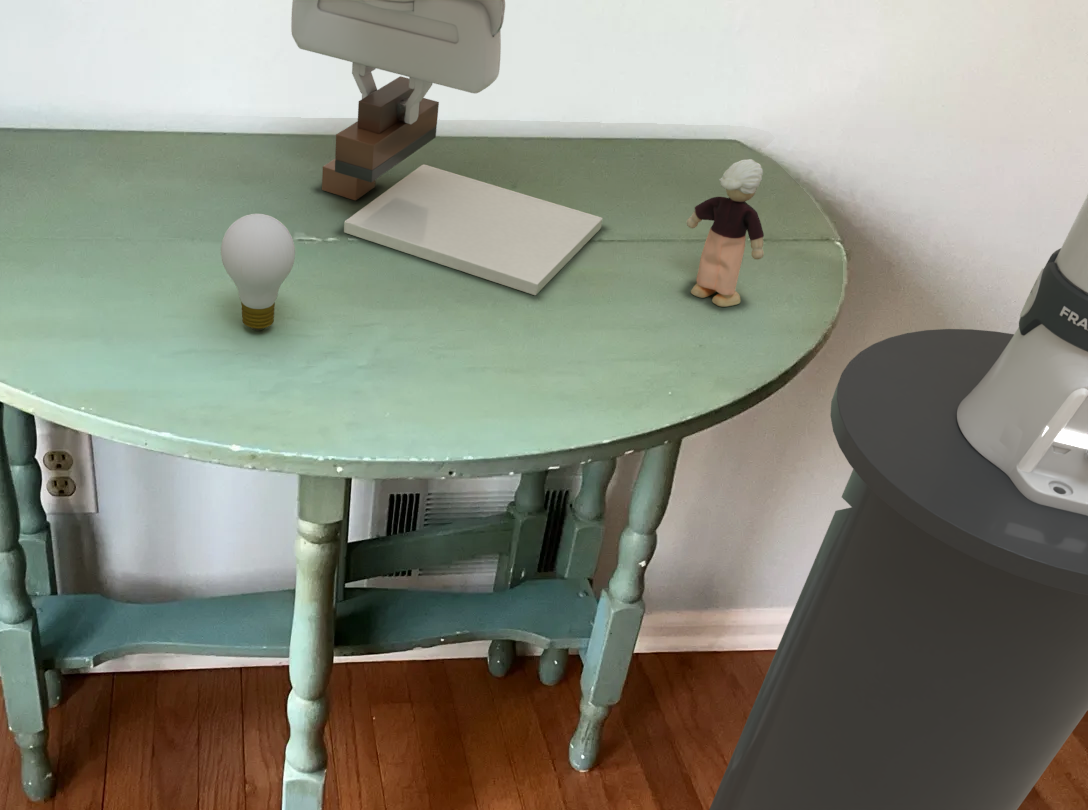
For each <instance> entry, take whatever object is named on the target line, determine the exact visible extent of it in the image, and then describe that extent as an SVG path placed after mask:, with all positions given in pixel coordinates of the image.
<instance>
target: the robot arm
mask: <svg viewBox="0 0 1088 810" xmlns="http://www.w3.org/2000/svg"><path fill="white" fill-rule="evenodd" d="M505 12H506V0H292V3H291V18H290V19H291V20H290V21H291V23H290V27H291V29H290V32H291V37H292V38H293V40H294V42H295V44H296V46H297V47H298V49H300V50H303V51H307V52H310V53H315V54H318V55H319V54H320V55H322V56H327V57H331V58H334V59H338V60H342V61H346V62H350V63H351V74H352V77H353V79H354V81H355V84H356V86H357V88H358V90H359V93H360V94H361V100H362V99H363V98H365V97H367V96H368V95H370V94H372V93H373V92H375V91H377V90H378V87H377V85H376V81H375V79H374V76H373V73H372V72H374V71H375V70H376V69H377V70H380V71H385V72H389V73H392V74H397V75H400V76H403V77H407V78H409V88H411V89H414V91H413V93H412V94H411V96H410V97H409V98H405V99H404V100H403V101H400V102H399V103H397V112H398V114H397V117H396V118H397V121H400V122H404V123H408V124H412V123H414V122H415V121H416V120H417V118H418V114H419V103H420V101H421V100H422V99H423V98H425V96H426V95H427V94H428V92H429V90H430V89H431V88H432V86H433V84H435V85H439V86H443V87H447V88H451V89H455V90H458V91H463V92H467V93H470V94H478V93H480V92H482V91H484V90H486V89H488V88H489V87H490V86H492V84H493V83H494V82H495V81H496V80H497V79H498V77H499V75H500V67H501V54H502V53H501V52H502V51H501V50H502V44H501V43H502V40H501V38H502V37H501V36H502V35H501V29H502V28H503V24H504V21H505V20H504V19H505ZM1013 334H1014V336H1013V337H1012V339H1011V340H1010V342H1009V343H1008V345H1007V346H1006V348H1005V349H1004V351H1003V352H1002V354H1001V355H1000V357H999V358H998V359H997V361H996V362H995V364H994V365H993V366H992V368H991V369H990V370H989V372H988V373H987V374H986V375H985V376H984V378H983V379H982V380H981V381H980V383H979V384H978V385H977V386H976V387H975V388H974V389H973V390H972V391H971V392H970V393H969V394H968V395H967V396H966V397H965V398H964V399H963V400H962V402H961V403H960V404H959V407H958V409H957V421H958V425H959V427H960V430H961V432H962V433H963V435H964V436H965V438H966V439H967V440H968V442H969V443H970V444H971V445H972V446H973V447H974V448H975V449H976V450H977V451H978V452H979V453H980V454H981V455H982V456H984V457H985V458H986V459H987V460H989V461H990V462H991V463H993V464H994V465H996V466H997V467H998V468H1000V469H1001V470H1002V471H1003V472H1005V473H1006V474H1007V475H1008V476H1009V478H1010V479H1011V481H1012V482H1013V483H1014V485H1015V486H1016V487H1017V489H1018V490H1019V491H1020V492H1021V493H1022V494H1023V495H1024V496H1025V497H1026V498H1027V499H1029V500H1031V501H1032V502H1035V503H1037V504H1041V505H1045V506H1049V507H1053V508H1057V509H1061V510H1066V511H1070V512H1074V513H1078V514H1082V515H1087V516H1088V194H1086V196H1085V199H1084V201H1083V203H1082V205H1081V207H1080V209H1079V211H1078V213H1077V215H1076V217H1075V219H1074V222H1073V223H1072V224H1071V228H1070V229H1069V232H1068V233H1067V236H1066V238H1065V239H1064V242H1063V243H1062V246H1061V248H1058V249H1056V250H1055V251H1054V252H1052V254H1051V255H1050V257H1049V258H1048V259H1047V262H1046V264H1045V265H1044V267H1043V268H1041V270H1040V271H1039V273H1038V276H1037V277H1036V280H1035V282H1034V283H1033V286H1032V287H1031V290H1030V292H1029V294H1028V296H1027V298H1026V299H1025V303H1024V305H1023V307H1022V309H1021V311H1020V314H1019V320H1018V328H1017V329H1016V331H1015V332H1014V333H1013Z"/></svg>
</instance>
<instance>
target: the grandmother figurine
mask: <svg viewBox="0 0 1088 810" xmlns="http://www.w3.org/2000/svg"><path fill="white" fill-rule="evenodd" d="M763 175H764V169H763V168H762V164H760V163H758V162H757V161H755V160H754V159H751V158H750V159H749V158H748V159H741V160H739V161H736V162H734V163H732V164H731V165H730V166H729V167H728V168H727V169H726V170H725V171H724V172H723V175H722V177H721V178H719V179H718V181H719V182H720V186H721V188H723V189H725V192H726V195H727V197H725V196H713V197H711V198H708V199H706V200H703V201H702V202H700V203H699V204H697V205H695V206H694V211H693V212H692V213H691V216H689V217H688V218H687V219H686V222H685V223H686V226H687V227H688V228H690V229H695V228H697V226H698V225H699V223H700V222H702V221H713V223H712V225H711V226H710V228H709V231H708V233H707V236H706V239H705V241H704V245H703V248H702V251H701V255H700V259H699V265H698V270H697V274H696V281H695V282H696V283H695V284H694V286H693V287H692V288H691V290H690V294H691V295H693V296H694V297H697V298H702V299H704V298H708V297H710V296H711V295H714V294H715V293H716V292H717V294H716V295H714V296H713V297H712V299H711V302H712V303H713V304H714V305H716V306H718V307H721V308H724V307H731V306H737V305H739V304H740V303H741V299H742V298H741V295H740V294H739V292H738V291H737V290H736V288H737V284H738V281H739V276H740V271H741V266H742V262H743V258H744V254H745V249H746V237H747V236H746V235H747V234H748V238H749V241H750V247H751V253H750V255H751V257H752V259H754V260H757V261H759V260H761V259H762V258H764V255H765V252H764V249H763V248H764V236H765V233H764V230H763V227H762V222H761V219H760V217H759V213H758V212H757V211H756V209H755V208H754V207H752V205H750V204H749V203H747V201H749V200H751V199H752V198H754V196H755V194H756V192H757V190H758V188H759V186H760V184H761V182H762V181H763V178H762V177H763Z"/></svg>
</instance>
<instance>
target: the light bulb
mask: <svg viewBox="0 0 1088 810" xmlns="http://www.w3.org/2000/svg"><path fill="white" fill-rule="evenodd" d="M220 256H221V257H220V258H221V263H222V266H223V268H224V270H225V272H226V274H227V275H228V276H229V278H230V279H231V280H232V283H234V285H235V287H236V289H237V292H238V297H239V300H240V305H241V321H242V323H243V325H245V326H246V327H248V328H250V329H251V330H253V331H255V332H261V331H263V330H264V329H266V328H268V327H269V328H270V327H271V326H272V325H273V324H274V321H275V320H274V319H275V310H276V307H275V306H276V301H277V298H278V295H279V290H280V288H281V286H282V284H283V283H284V281H285V280H286V279H287V277H288V276H289V275H290V274H291V272H292V270H293V267H294V264H295V259H296V246H295V242H294V238H293V236H292V235H291V232H290V231H289V229H288V228H287V227H286V225H285V224H284V223H282V222H281V221H280V220H278V219H277V218H275V217H274V216H271V215H268V214H265V213H251V214H246V215H244V216H241V217H239V218H237V219H236V220H234V221H233V223H232V224H231V225H230V226H229V227H228V228H227V230H226V231H225V232H224V235H223V238H222V240H221V245H220Z"/></svg>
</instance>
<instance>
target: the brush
mask: <svg viewBox="0 0 1088 810" xmlns="http://www.w3.org/2000/svg"><path fill="white" fill-rule="evenodd" d="M413 91H414V89H411V88H409V77H406V76H402V75H400V76H399V77H397V78H395V79H393V80H391V81H390V82H388V83H386V84H385V85H383V86H382V87H380V88H377V91H375V92H373V93H372V94H370V95H368V96H367V97H365V98H363V99H362V98H361V99H360V100H358V104H357V105H358V106H357V108H358V109H357V110H358V111H357V121H355V122H353V123H352V124H351V125H349V126H348V127H346V128H344V129H342V130H341V131H339V132H338V133H336V134H335V151H334V152H335V154H334V156H335V157H334V159H336V160H335V172H337V173H341V174H344V175H348V176H351V177H354V178H358V179H361V180H364V181H368V182H373V181H374V180H376V181H377V179H379V178H380V177H382V176H383V175H384V174H386V173H388V171H390V170H392V169H393V168H394V167H396V166H397V165H399V164H400V163H402V162H403V161H405V160H406V159H407V158H408V157H410V156H411V155H413V154H415V153H416V152H417V151H418V150H420V149H421V148H423V147H424V146H426V145H427V144H429V143H430V142H431V141H433V140H434V139H435V138H436V137H437V127H438V118H439V117H438V115H439V105H440V102H439V101H438V100H437V101H436V100H434V99H430V98H426V97H423V99H422V100H421V101H420V103H419V114H418V118H417V120H416V121H415V122H414V123H412V124H408V123H404V122H400V121H397V118H396V117H397V114H398V112H397V103H399V102H400V101H403V100H404V99H405V98H409V97H410V96H411V94H412V93H413Z"/></svg>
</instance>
